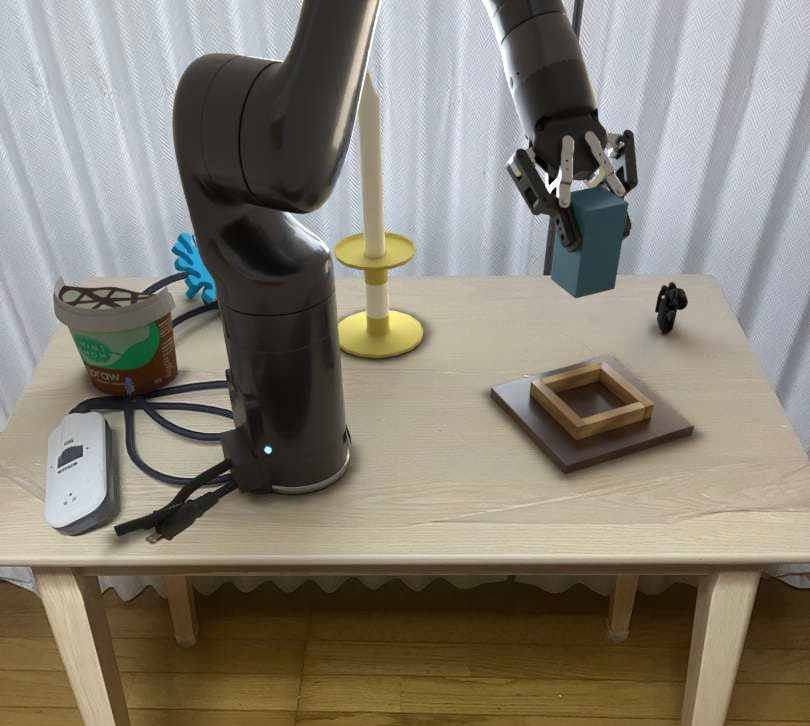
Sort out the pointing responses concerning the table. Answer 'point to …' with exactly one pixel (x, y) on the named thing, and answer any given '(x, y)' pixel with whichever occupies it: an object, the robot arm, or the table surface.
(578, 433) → the square wooden socket base
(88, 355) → the food container
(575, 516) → the table surface
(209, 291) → the blue branched piece
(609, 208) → the post block
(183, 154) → the robot arm
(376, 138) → the candle
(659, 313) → the wireless earbuds
